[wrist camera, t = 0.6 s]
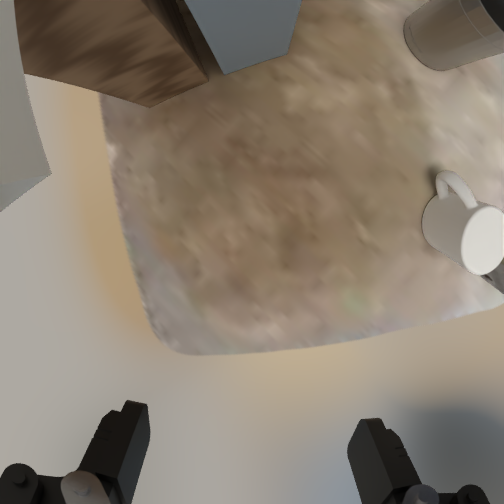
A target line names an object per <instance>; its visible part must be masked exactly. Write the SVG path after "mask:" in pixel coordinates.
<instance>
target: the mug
mask: <svg viewBox="0 0 504 504" xmlns="http://www.w3.org/2000/svg"><path fill="white" fill-rule="evenodd" d="M447 184H448V185H449V186H450V187H451V188H452V189H453V190H454V191H455V192H456V194H455V193H452V192H448V185H447ZM436 189H437V193H438V195H436V196H435V197H433V198H432V199H431V200H430V202H429V203H428V204H427V206H426V208H425V210H424V213H423V218H422V230H423V234H424V237H425V239H426V240H427V242H428V243H429V244H430V245H431V246H432V247H434V248H435V249H437V250H438V251H440V252H441V253H443V254H444V255H446V256H447V257H449V258H450V259H452V260H453V261H455V262H456V263H458V264H459V265H460V266H462V267H463V268H465V269H466V270H468V271H469V272H470V273H472V274H475V275H484V274H487V273H489V272H491V271H492V270H494V269H495V268H496V267H497V266H498V265H499V264H500V262H501V261H502V259H503V257H504V213H503V212H502V211H501V210H500V209H499V208H497V207H495V206H492V205H489V204H486V203H483V202H480V201H477V200H476V199H475V197H474V195H473V193H472V192H471V190H470V188H469V187H468V185H467V184H466V182H465V181H464V180H463V179H462V178H461V177H460V176H459V175H458V174H457V173H456V172H454V171H450V170H445V171H442V172H440V173H439V174H438V175H437V176H436Z"/></svg>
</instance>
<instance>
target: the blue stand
mask: <svg viewBox="0 0 504 504" xmlns="http://www.w3.org/2000/svg"><path fill="white" fill-rule="evenodd" d="M184 1H185V2H186V4H187V6H188V8H189V10H190V11H191V13H192V15H193V17H194V19H195V20H196V22H197V24H198V26H199V28H200V30H201V32H202V33H203V35H204V37H205V39H206V41H207V43H208V45H209V47H210V48H211V50H212V52H213V54H214V56H215V58H216V60H217V62H218V64H219V66H220V68H221V70H222V72H223V74H224V75H226V74H229V73H232V72H234V71H237V70H240V69H243V68H246V67H249V66H251V65H254V64H257V63H261V62H264V61H267V60H270V59H273V58H276V57H280V56H283V55H287V52H288V49H289V45H290V42H291V38H292V34H293V31H294V27H295V23H296V20H297V16H298V13H299V9H300V6H301V2H302V0H184Z"/></svg>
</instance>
